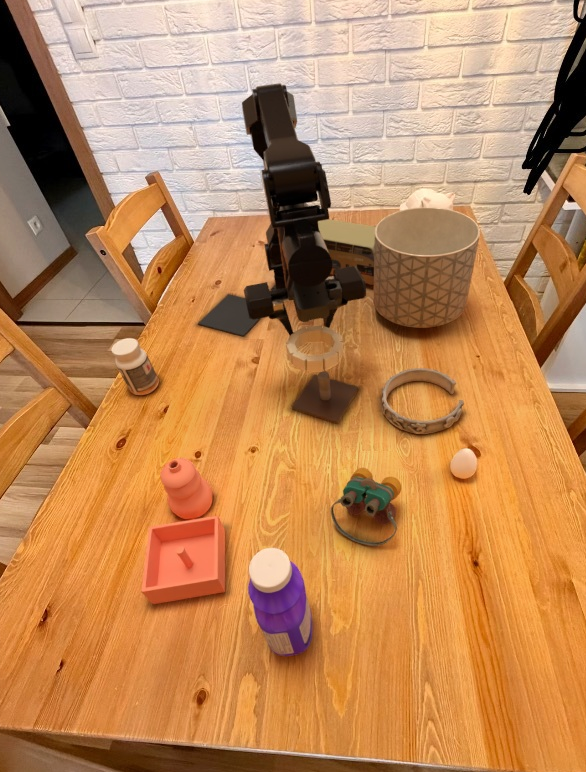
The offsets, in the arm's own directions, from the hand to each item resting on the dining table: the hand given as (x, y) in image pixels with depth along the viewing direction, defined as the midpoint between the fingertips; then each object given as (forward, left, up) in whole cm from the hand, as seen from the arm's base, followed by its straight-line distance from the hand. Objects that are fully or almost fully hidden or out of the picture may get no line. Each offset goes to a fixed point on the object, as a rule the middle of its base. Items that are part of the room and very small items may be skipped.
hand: (309, 334), depth 79 cm
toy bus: (-37, -11, -11) cm, 40 cm away
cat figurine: (-52, +4, -11) cm, 53 cm away
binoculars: (+23, +20, -11) cm, 33 cm away
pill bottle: (+14, -30, -11) cm, 35 cm away
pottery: (+36, -2, -11) cm, 38 cm away
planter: (-27, +11, -11) cm, 31 cm away
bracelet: (-1, +20, -11) cm, 23 cm away
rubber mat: (-12, -26, -10) cm, 30 cm away
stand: (+4, +4, -10) cm, 12 cm away
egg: (+10, +30, -11) cm, 34 cm away
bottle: (+41, +17, -11) cm, 46 cm away
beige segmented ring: (+4, +3, -1) cm, 5 cm away
